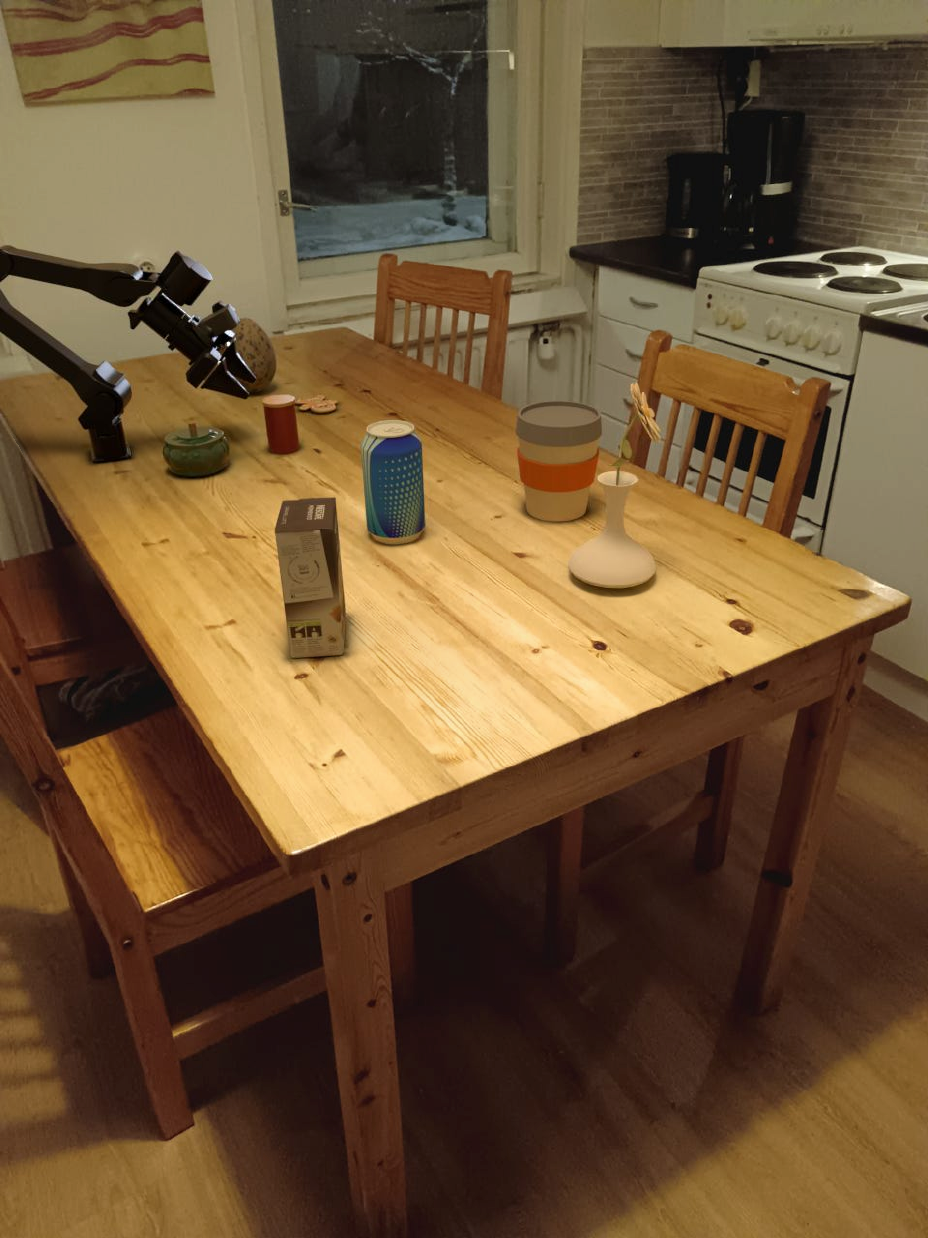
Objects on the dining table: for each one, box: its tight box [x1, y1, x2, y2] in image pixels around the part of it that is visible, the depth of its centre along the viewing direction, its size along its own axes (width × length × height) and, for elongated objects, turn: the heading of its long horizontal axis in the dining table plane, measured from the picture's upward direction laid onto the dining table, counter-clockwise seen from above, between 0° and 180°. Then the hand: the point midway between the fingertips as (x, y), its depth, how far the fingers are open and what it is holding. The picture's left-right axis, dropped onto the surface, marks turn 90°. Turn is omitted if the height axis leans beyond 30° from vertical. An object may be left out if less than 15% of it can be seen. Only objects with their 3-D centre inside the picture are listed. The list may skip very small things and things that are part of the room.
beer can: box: [360, 419, 426, 545], centre depth 135 cm, size 8×8×16 cm
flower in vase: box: [567, 381, 662, 589], centre depth 121 cm, size 13×11×25 cm
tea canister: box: [261, 394, 300, 455], centre depth 168 cm, size 6×6×9 cm
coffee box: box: [274, 497, 347, 659], centre depth 110 cm, size 9×6×16 cm
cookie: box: [295, 395, 338, 414], centre depth 191 cm, size 8×1×10 cm
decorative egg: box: [229, 317, 277, 393], centre depth 197 cm, size 11×11×15 cm
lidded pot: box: [162, 421, 231, 478], centre depth 161 cm, size 11×11×8 cm
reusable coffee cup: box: [515, 400, 603, 523], centre depth 142 cm, size 13×12×15 cm
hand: (251, 389), depth 165 cm, fingers open, 9 cm apart
